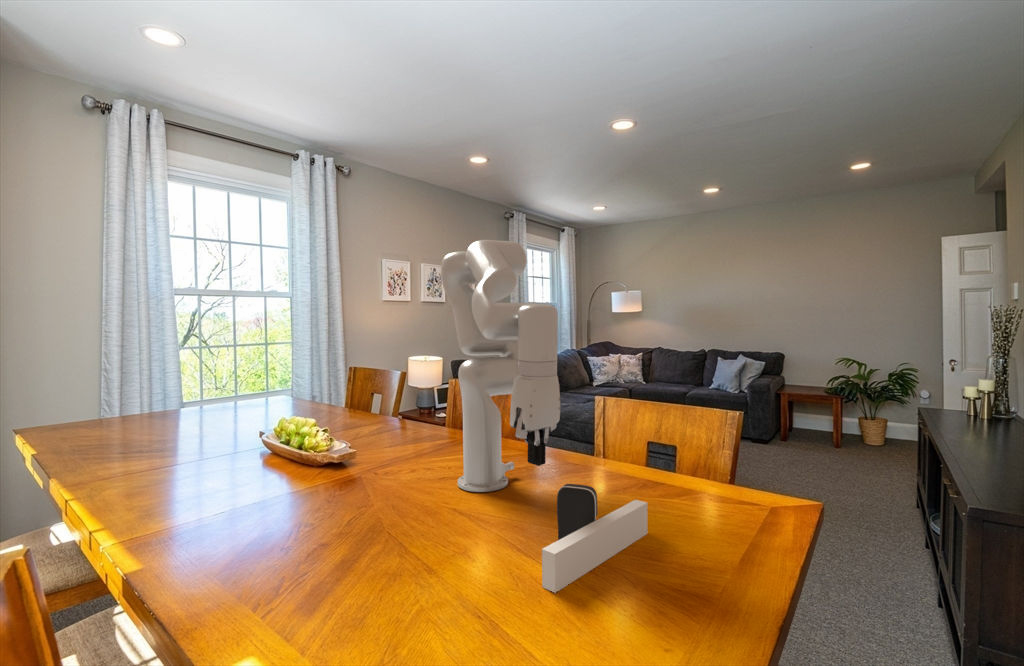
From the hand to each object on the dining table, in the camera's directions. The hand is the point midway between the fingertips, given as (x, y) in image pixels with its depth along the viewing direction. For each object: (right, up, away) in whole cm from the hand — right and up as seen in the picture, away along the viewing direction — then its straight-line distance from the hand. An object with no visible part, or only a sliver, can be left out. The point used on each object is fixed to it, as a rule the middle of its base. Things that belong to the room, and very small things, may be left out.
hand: (536, 463), depth 97 cm
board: (+11, -14, -10) cm, 20 cm away
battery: (+7, -14, -7) cm, 17 cm away
